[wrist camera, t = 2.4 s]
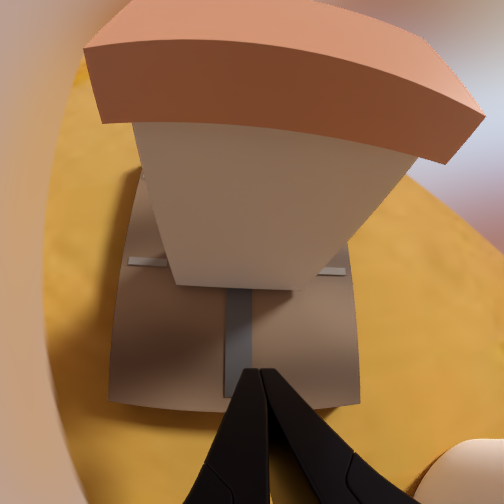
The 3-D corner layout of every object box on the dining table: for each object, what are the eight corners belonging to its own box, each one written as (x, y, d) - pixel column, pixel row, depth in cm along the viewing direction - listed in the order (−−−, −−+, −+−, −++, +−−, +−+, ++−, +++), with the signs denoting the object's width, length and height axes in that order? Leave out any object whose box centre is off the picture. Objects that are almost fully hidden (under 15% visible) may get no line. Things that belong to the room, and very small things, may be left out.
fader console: (343, 402, 14) (361, 403, 13) (120, 399, 13) (107, 401, 11) (322, 171, 21) (331, 152, 19) (154, 159, 19) (150, 138, 18)
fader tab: (310, 298, 14) (486, 116, 4) (166, 292, 13) (82, 48, 3) (306, 238, 16) (422, 38, 5) (173, 231, 15) (143, -10, 4)
